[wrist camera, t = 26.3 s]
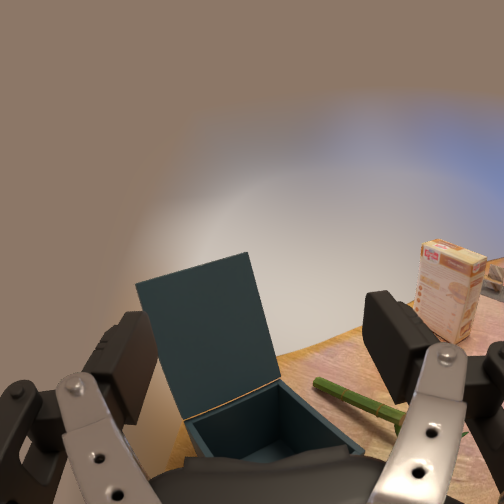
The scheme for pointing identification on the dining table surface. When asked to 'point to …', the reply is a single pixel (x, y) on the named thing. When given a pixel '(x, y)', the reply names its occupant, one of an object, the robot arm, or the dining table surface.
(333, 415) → the dining table surface
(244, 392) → the lid
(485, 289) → the architectural model
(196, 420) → the chest
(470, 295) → the coffeecake box
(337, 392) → the decorative plant
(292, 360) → the dining table surface
